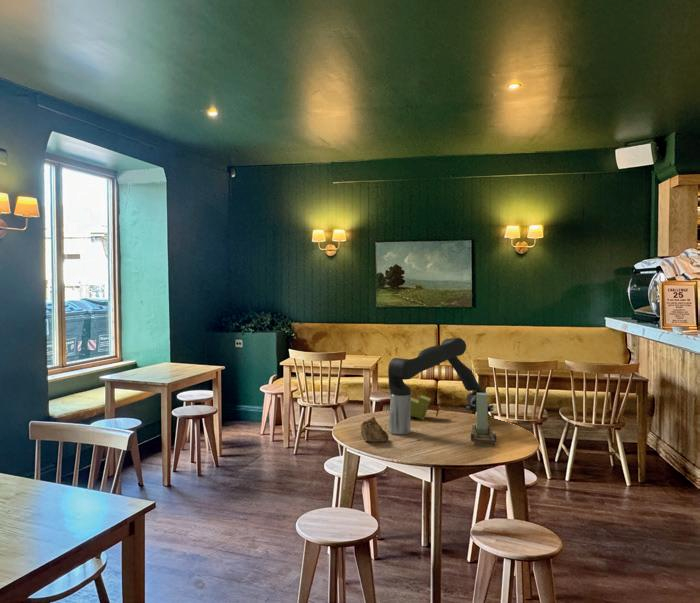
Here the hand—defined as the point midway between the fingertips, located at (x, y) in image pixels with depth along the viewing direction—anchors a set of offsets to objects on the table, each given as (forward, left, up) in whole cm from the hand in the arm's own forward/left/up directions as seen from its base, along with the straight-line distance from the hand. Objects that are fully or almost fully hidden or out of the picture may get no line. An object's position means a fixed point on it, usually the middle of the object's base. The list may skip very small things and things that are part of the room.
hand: (481, 411), depth 231 cm
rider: (-1, -5, -9) cm, 10 cm away
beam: (-4, -13, -9) cm, 16 cm away
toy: (-24, +26, -9) cm, 36 cm away
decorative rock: (-51, -15, -9) cm, 54 cm away
